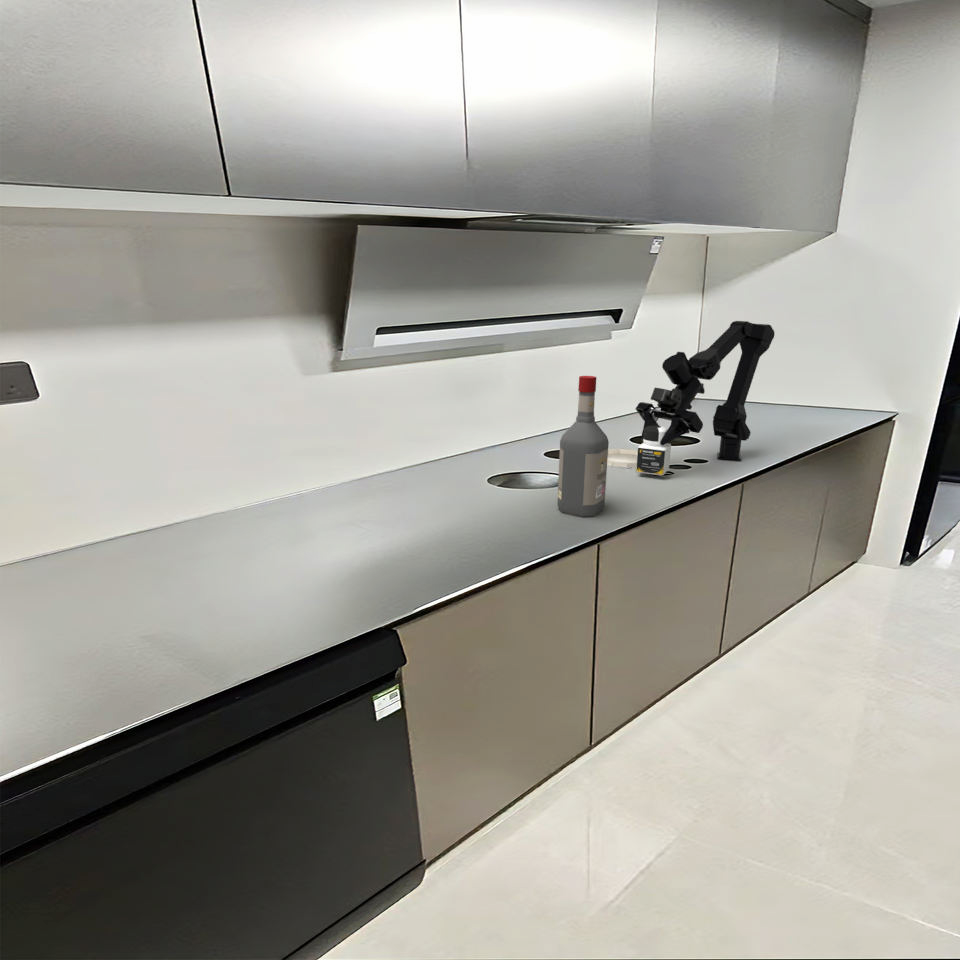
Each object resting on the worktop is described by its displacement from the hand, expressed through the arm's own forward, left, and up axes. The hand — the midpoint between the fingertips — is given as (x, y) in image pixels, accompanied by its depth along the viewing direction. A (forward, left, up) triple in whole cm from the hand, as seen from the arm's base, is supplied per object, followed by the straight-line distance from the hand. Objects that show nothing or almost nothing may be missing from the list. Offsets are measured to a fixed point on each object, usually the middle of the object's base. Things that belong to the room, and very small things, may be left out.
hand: (651, 442), depth 174 cm
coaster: (-14, -8, -9) cm, 19 cm away
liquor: (+33, -12, -10) cm, 37 cm away
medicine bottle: (-1, +1, -8) cm, 8 cm away
